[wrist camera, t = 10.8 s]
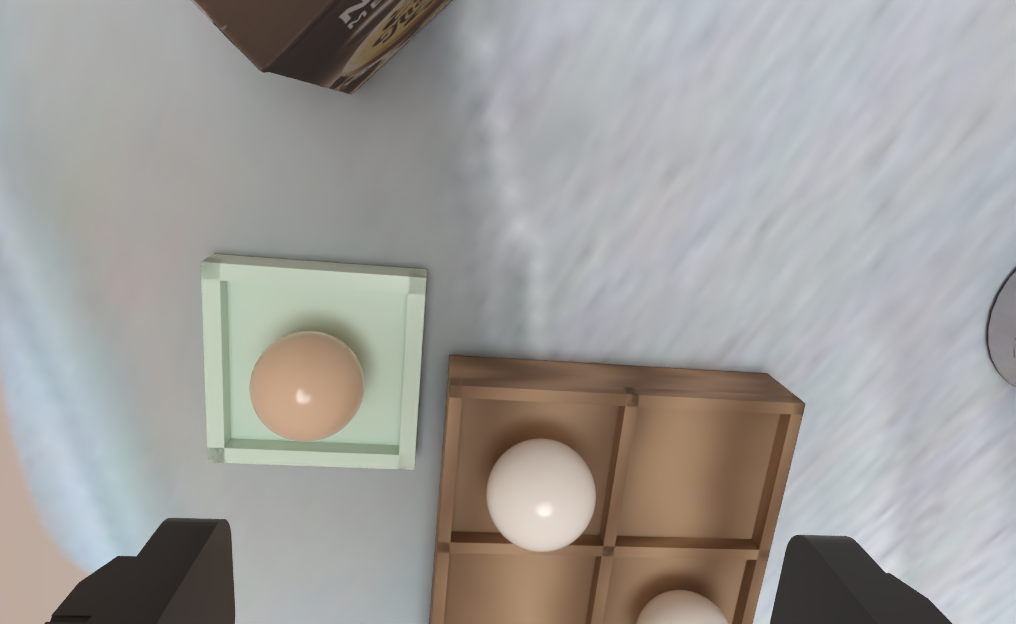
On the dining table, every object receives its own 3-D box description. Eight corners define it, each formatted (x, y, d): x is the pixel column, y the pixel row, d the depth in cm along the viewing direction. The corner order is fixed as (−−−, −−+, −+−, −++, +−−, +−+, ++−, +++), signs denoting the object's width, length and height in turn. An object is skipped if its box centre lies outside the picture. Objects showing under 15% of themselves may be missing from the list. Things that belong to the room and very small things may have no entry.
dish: (427, 269, 32) (426, 277, 30) (415, 452, 35) (414, 469, 33) (214, 253, 31) (200, 261, 29) (219, 444, 34) (207, 462, 32)
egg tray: (767, 373, 36) (805, 403, 32) (709, 634, 40) (737, 686, 37) (449, 355, 34) (450, 385, 30) (428, 631, 38) (426, 687, 35)
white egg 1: (589, 422, 32) (615, 476, 27) (576, 511, 33) (599, 577, 29) (487, 417, 31) (495, 471, 27) (479, 508, 33) (485, 575, 28)
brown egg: (372, 320, 32) (358, 357, 27) (368, 414, 33) (355, 465, 28) (266, 313, 31) (232, 349, 26) (266, 409, 33) (235, 460, 28)
